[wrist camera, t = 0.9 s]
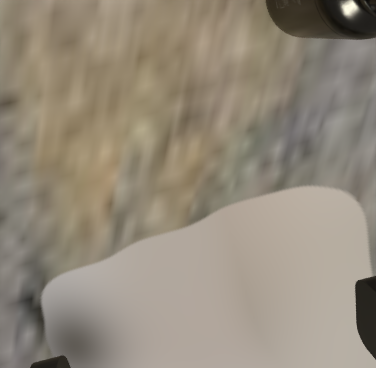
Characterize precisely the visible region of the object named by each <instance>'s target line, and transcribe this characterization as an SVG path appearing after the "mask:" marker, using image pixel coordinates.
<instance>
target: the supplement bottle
mask: <svg viewBox="0 0 376 368" xmlns="http://www.w3.org/2000/svg"><path fill="white" fill-rule="evenodd" d="M266 5H267V9H268V12H269V14H270V16H271V18H272V20H273V21H274V23H275V24H276V25H277V26H278V27H279V28H280V29H281V30H282V31H284V32H285V33H287V34H289V35H292V36H295V37H301V38H322V39H353V40H362V39H371V38H376V0H266Z"/></svg>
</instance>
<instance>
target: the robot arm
mask: <svg viewBox="0 0 376 368" xmlns="http://www.w3.org/2000/svg"><path fill="white" fill-rule="evenodd" d="M355 293H356V320H357V321H356V323H357V329H358V333H359V335H360V338H361V340H362V342H363V344H364V345H365V347H366V348H367V350H368V351H369V352H370V353H371V354H372V356H373V357H374V358H375V359H376V276H373V277H370V278H365V279H362V280H358V281H357V282H356V285H355ZM30 368H70V365H69V363H68V360H67V358H66V357H65V356H59V357H54V358H51V359H47V360H43V361H39V362H35V363H33V364H32V365H31V367H30Z"/></svg>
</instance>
